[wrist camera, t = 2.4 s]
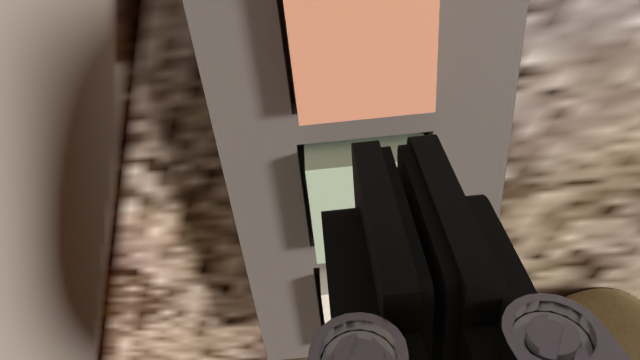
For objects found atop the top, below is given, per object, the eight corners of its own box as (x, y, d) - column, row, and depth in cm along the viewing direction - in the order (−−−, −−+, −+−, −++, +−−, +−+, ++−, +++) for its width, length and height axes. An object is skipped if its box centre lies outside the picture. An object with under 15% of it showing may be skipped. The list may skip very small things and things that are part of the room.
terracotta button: (421, 83, 21) (435, 112, 19) (298, 95, 21) (298, 125, 19) (424, -49, 18) (441, -31, 16) (282, -34, 19) (281, -15, 17)
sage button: (418, 217, 25) (430, 253, 23) (315, 227, 25) (317, 264, 23) (420, 126, 22) (433, 158, 20) (303, 138, 23) (305, 170, 21)
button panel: (465, 293, 32) (482, 341, 29) (270, 312, 32) (268, 361, 30) (506, -117, 20) (542, -104, 17) (185, -82, 20) (167, -64, 17)
